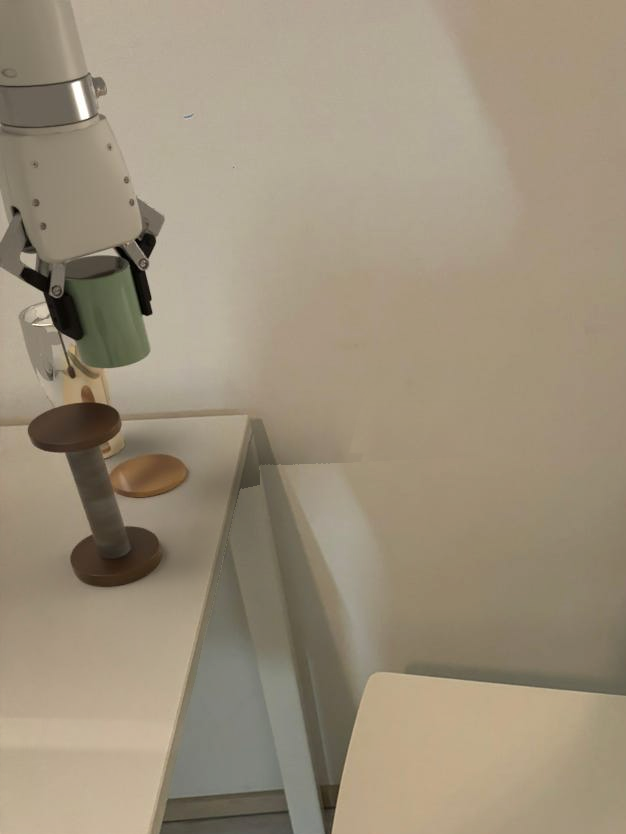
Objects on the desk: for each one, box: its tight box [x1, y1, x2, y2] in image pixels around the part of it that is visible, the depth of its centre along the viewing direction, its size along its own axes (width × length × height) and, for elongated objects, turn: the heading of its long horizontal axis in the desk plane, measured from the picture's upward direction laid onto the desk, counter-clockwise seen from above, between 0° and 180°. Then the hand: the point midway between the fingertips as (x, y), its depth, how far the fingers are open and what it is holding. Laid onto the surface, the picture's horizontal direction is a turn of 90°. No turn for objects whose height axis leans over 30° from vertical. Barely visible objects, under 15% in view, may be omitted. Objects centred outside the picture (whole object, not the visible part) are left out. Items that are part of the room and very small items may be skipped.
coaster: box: [109, 453, 187, 498], centre depth 97 cm, size 8×8×1 cm
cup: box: [64, 254, 152, 369], centre depth 85 cm, size 6×6×8 cm
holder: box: [27, 402, 163, 587], centre depth 81 cm, size 8×8×14 cm
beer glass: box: [18, 300, 125, 460], centre depth 97 cm, size 7×7×15 cm
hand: (106, 322), depth 86 cm, fingers closed on cup, 6 cm apart
